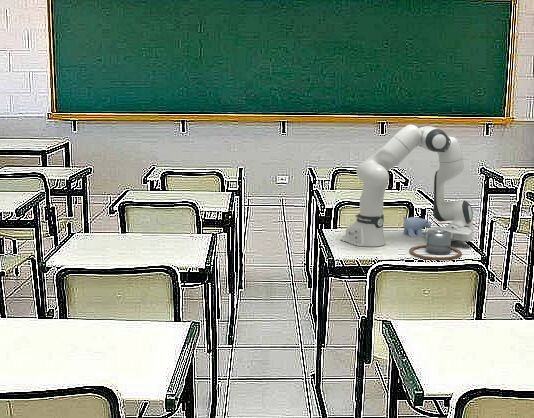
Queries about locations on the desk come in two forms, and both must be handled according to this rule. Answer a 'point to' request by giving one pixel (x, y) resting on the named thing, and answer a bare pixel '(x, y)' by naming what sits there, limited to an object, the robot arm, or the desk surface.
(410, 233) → the hippopotamus toy
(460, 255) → the locating ring
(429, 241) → the metal cover
